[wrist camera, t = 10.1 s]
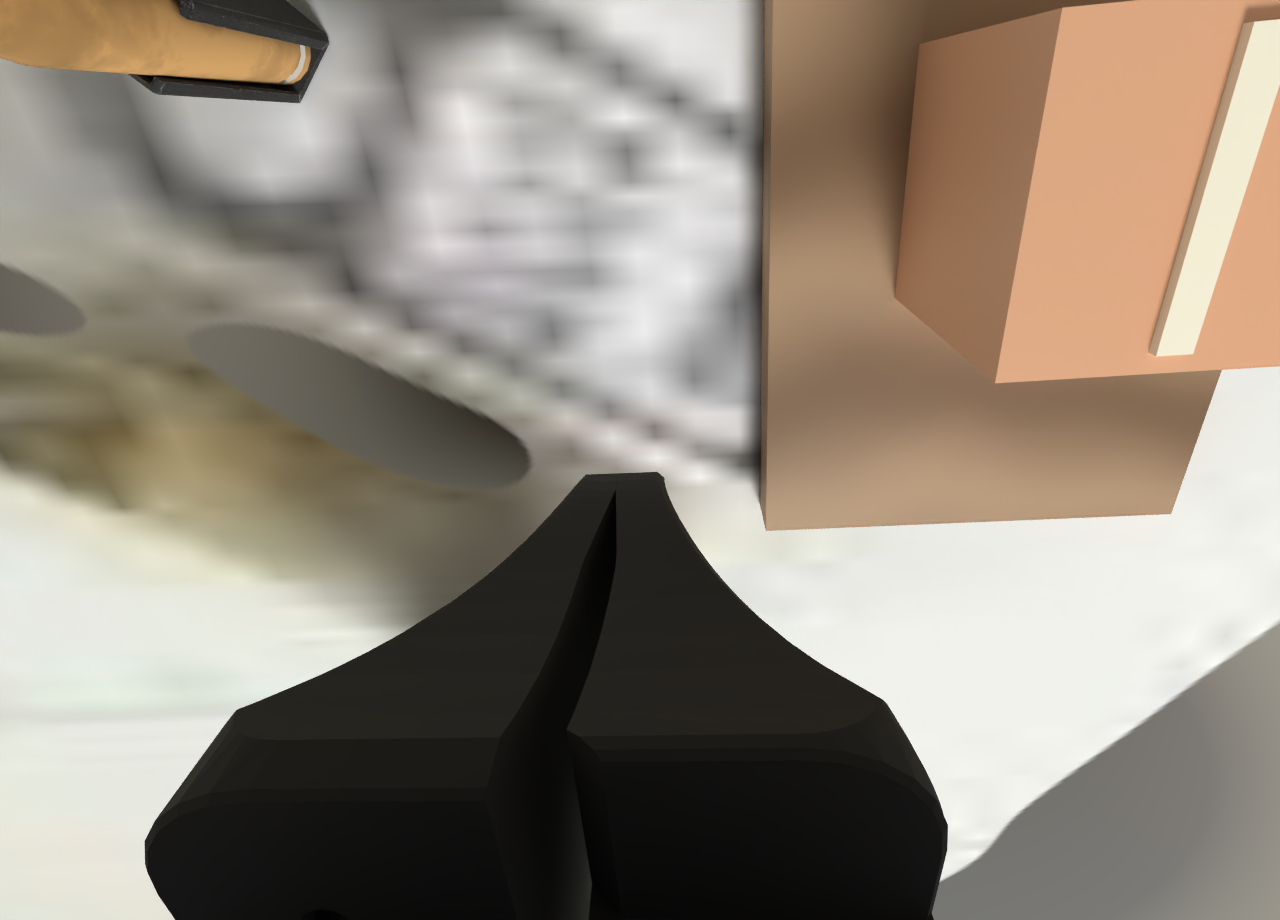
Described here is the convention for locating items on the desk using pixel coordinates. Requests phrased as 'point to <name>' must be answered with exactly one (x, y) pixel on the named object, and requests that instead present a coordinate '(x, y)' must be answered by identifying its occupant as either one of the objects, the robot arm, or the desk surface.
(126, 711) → the desk surface
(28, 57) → the ammunition clip
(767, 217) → the mount
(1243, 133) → the orange cube
